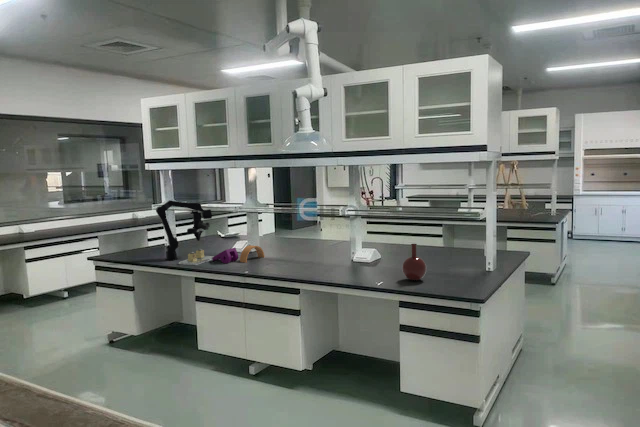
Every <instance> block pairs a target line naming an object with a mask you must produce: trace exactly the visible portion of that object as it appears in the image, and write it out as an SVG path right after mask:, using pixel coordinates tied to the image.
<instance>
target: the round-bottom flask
mask: <svg viewBox="0 0 640 427" xmlns="http://www.w3.org/2000/svg"><path fill="white" fill-rule="evenodd" d="M417 245H418V244H417V243H411V244H410V246H411V256H409V257H407V258H406V259H404V260H403V262H402V265H401V271H402V274H403V276H404V277H405V278H406V279H407V280H410V281H413V280H414V281H415V280H416V281H419V280H421V279H423V278H424V277H425V275H426V273H427V264H426V262H425V261H424V259H423V258H422V257H419V256H417Z"/></svg>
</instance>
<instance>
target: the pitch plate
mask: <svg viewBox="0 0 640 427" xmlns="http://www.w3.org/2000/svg"><path fill="white" fill-rule="evenodd" d="M214 256H215V255H213V256H212V255H204V257H203V258H197V260H196V261H193V262H192V261H188V258H187V259H184V260H181V261H179V262H178V265H186V266H187V265H188V266H197V265H200V264H203V263H206V262H209V261H213V260H212V257H214Z"/></svg>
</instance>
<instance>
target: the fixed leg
mask: <svg viewBox="0 0 640 427" xmlns="http://www.w3.org/2000/svg"><path fill="white" fill-rule="evenodd" d="M187 259H188V261H192V262H193V261H196V260H197V257H196V252H195V251H190V252H189V253H188V254H187Z"/></svg>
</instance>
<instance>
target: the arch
mask: <svg viewBox="0 0 640 427" xmlns="http://www.w3.org/2000/svg"><path fill="white" fill-rule="evenodd" d="M253 249H254V250H255V251H256V253H257V258H261V257H262V258H263V259H264V257H265V256H266V255H265V252H264V250H263V248H262V247H260V246H258V245H252V244H251V245H247V246H245V247H244V248H243V250H241V251H242V252H241V254H240V256H239V262H240V263H245V264H246V263H248V262H247V261H248V257H249V253H250V252H251V251H252V250H253Z"/></svg>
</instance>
